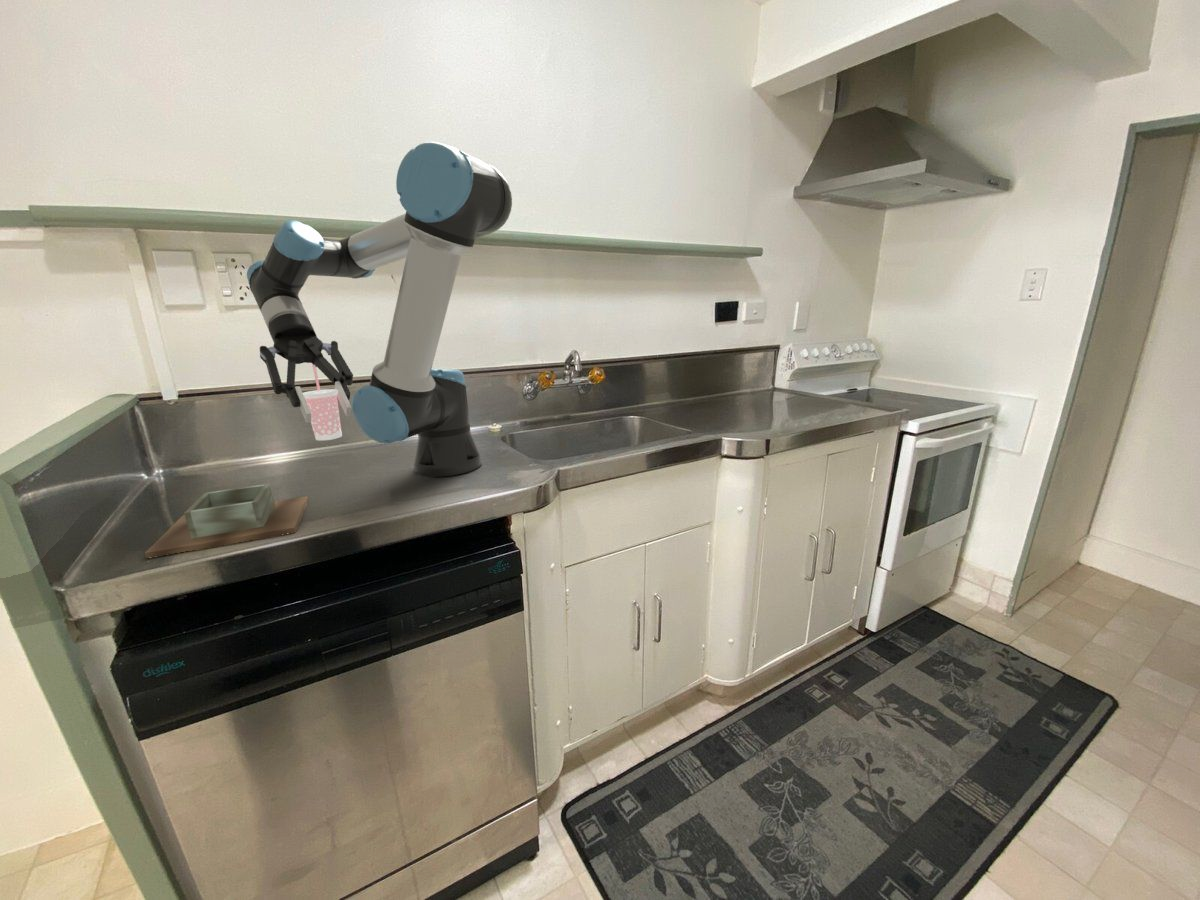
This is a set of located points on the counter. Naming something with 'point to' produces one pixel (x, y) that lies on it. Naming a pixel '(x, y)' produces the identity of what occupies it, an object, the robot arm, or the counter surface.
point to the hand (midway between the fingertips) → (329, 414)
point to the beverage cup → (324, 412)
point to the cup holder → (231, 520)
